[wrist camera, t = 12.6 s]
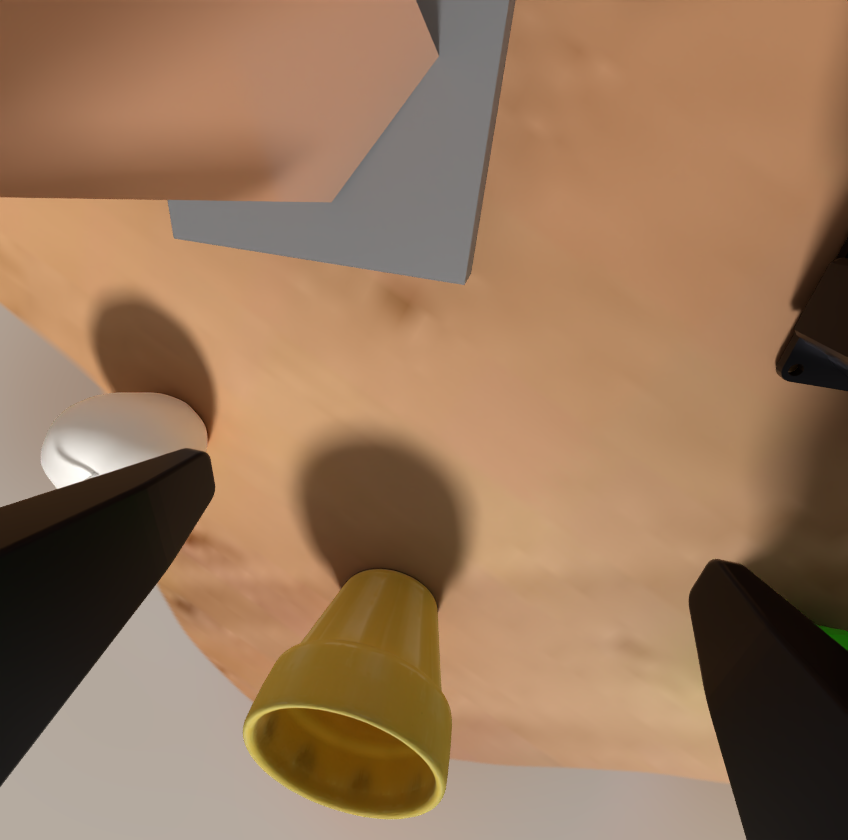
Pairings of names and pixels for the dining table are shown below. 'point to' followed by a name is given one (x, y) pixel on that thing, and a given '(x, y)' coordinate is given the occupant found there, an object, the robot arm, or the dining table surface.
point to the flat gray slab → (395, 169)
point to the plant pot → (360, 704)
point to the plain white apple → (117, 434)
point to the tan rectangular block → (200, 95)
